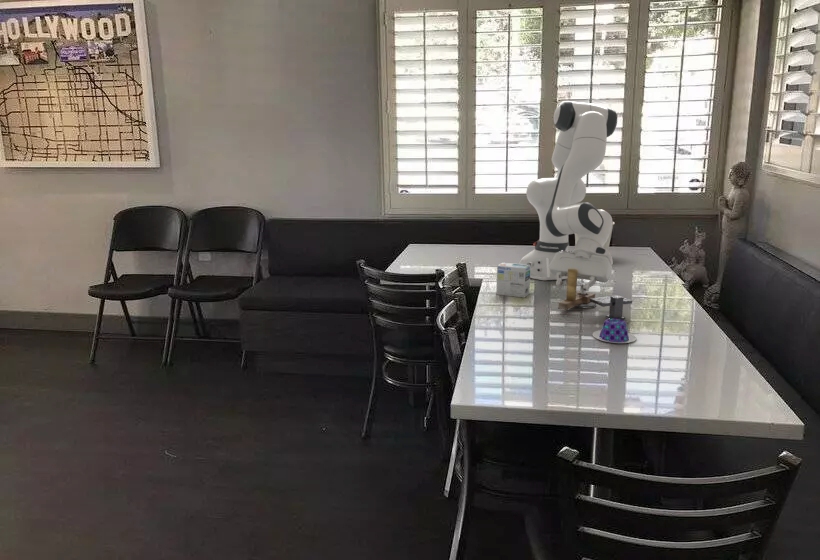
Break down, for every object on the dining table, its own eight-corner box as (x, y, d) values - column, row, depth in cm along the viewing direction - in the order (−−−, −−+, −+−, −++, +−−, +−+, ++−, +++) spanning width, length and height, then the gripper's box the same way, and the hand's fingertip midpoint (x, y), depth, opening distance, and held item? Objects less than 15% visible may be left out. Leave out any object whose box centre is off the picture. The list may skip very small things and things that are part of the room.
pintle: (564, 305, 221) (565, 284, 219) (574, 299, 228) (575, 279, 226) (590, 309, 216) (592, 288, 214) (599, 303, 223) (601, 283, 221)
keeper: (588, 314, 210) (590, 293, 208) (617, 311, 214) (618, 290, 212) (604, 322, 202) (606, 300, 201) (633, 318, 206) (635, 296, 204)
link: (578, 296, 226) (580, 262, 223) (594, 299, 222) (597, 265, 219) (553, 307, 212) (555, 271, 209) (570, 311, 208) (573, 274, 206)
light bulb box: (530, 293, 236) (531, 264, 233) (524, 298, 230) (526, 268, 227) (501, 290, 240) (502, 261, 238) (495, 294, 234) (496, 265, 232)
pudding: (583, 335, 190) (584, 318, 189) (615, 330, 196) (616, 313, 194) (612, 347, 180) (614, 329, 179) (645, 342, 185) (647, 324, 184)
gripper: (555, 244, 222) (539, 277, 217) (613, 251, 210) (598, 286, 204) (560, 255, 227) (545, 288, 221) (618, 262, 214) (603, 297, 209)
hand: (571, 287), depth 213 cm, fingers open, 8 cm apart
